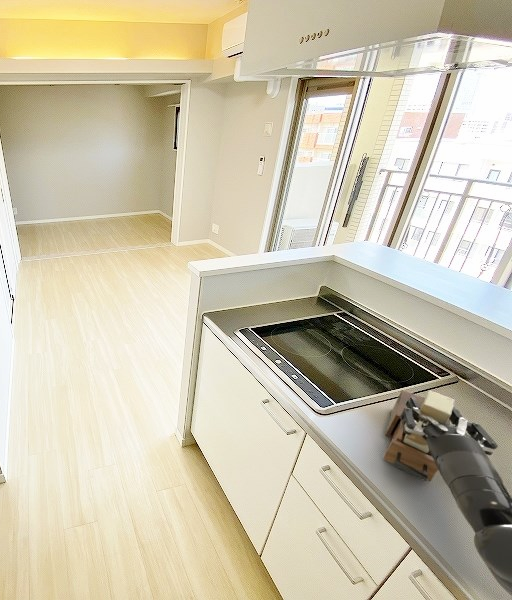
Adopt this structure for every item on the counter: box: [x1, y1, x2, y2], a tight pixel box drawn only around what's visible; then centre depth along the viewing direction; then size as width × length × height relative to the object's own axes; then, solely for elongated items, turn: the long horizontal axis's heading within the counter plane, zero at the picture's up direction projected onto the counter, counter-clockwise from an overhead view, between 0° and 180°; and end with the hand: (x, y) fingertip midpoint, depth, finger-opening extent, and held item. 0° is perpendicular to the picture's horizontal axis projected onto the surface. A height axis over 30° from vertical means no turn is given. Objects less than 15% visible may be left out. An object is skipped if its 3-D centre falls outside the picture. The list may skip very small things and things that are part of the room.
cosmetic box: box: [404, 389, 456, 453], centre depth 73 cm, size 6×4×12 cm
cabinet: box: [385, 389, 451, 440], centre depth 83 cm, size 12×10×8 cm
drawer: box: [382, 420, 439, 482], centre depth 75 cm, size 15×8×6 cm, turn 136°
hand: (429, 404), depth 73 cm, fingers closed on cosmetic box, 6 cm apart
